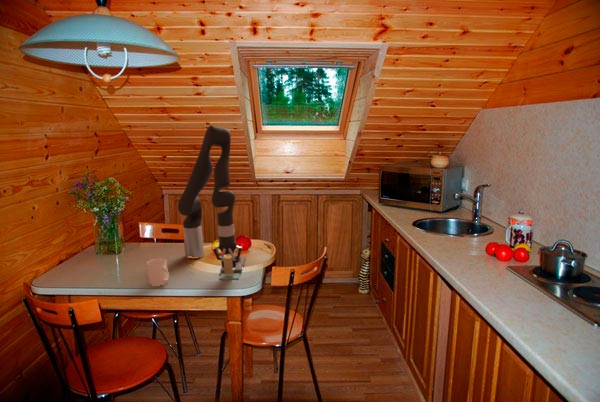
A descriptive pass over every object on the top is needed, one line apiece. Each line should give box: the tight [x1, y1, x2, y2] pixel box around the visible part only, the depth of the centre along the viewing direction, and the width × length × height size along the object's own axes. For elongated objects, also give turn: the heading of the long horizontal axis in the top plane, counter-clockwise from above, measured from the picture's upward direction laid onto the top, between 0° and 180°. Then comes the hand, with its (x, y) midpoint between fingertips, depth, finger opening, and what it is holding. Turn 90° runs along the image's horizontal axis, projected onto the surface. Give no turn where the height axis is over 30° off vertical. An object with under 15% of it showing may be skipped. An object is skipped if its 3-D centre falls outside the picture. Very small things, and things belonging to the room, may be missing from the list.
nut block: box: [224, 254, 235, 275], centre depth 200 cm, size 4×4×8 cm
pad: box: [219, 273, 241, 281], centre depth 202 cm, size 9×6×1 cm, turn 90°
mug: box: [146, 257, 170, 287], centre depth 196 cm, size 9×12×11 cm
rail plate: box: [220, 255, 247, 275], centre depth 213 cm, size 10×16×2 cm, turn 179°
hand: (229, 267), depth 201 cm, fingers closed on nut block, 4 cm apart
